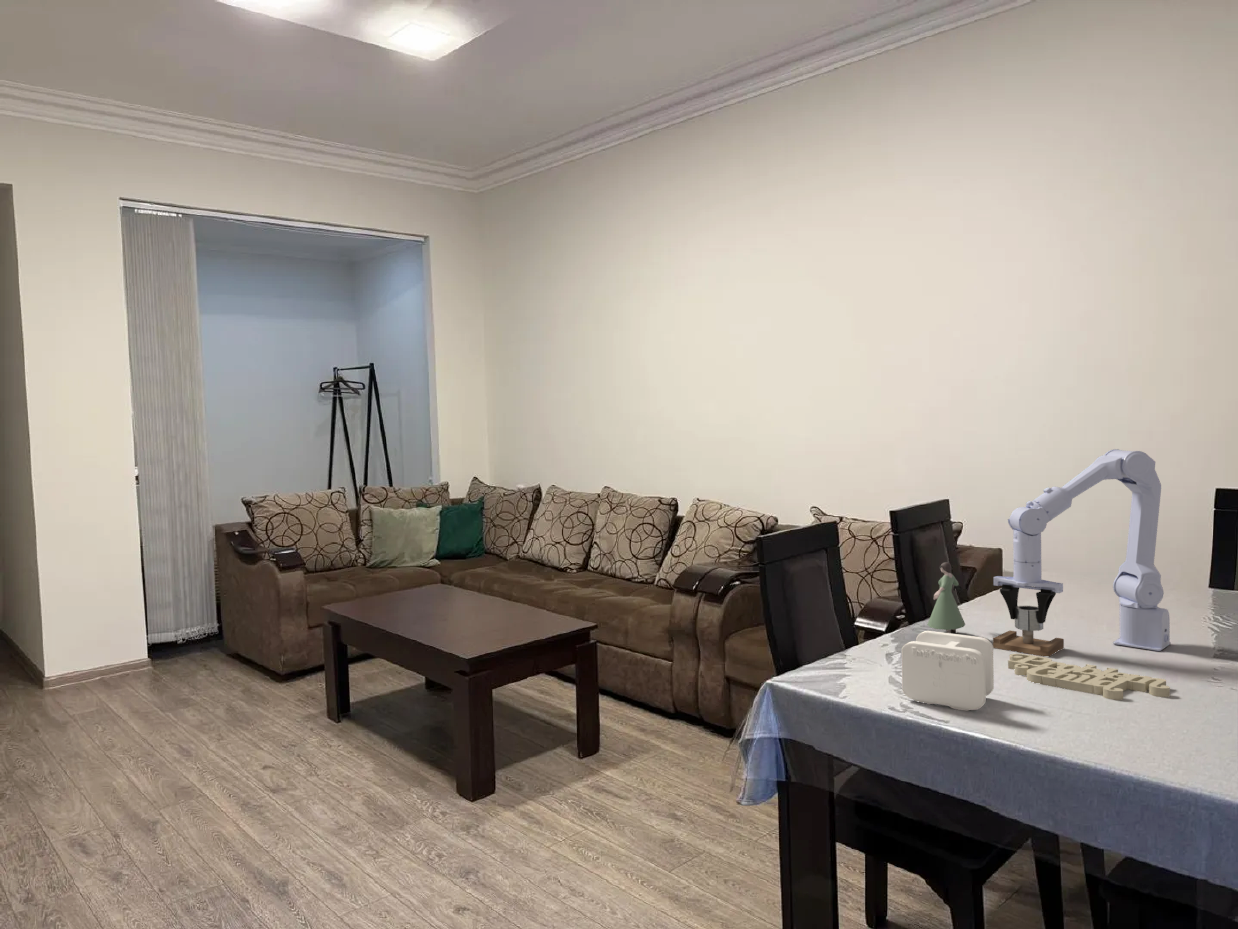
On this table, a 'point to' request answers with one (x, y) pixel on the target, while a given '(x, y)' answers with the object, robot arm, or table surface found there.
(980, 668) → the cable organizer
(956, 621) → the character figurine
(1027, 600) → the table surface
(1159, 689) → the decorative sign
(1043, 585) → the robot arm
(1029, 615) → the tube
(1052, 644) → the shaft block
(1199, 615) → the table surface
